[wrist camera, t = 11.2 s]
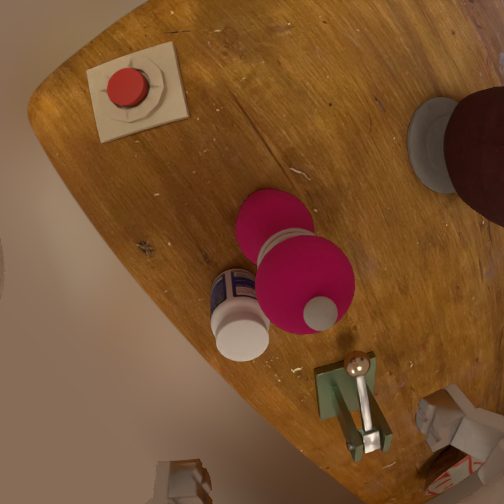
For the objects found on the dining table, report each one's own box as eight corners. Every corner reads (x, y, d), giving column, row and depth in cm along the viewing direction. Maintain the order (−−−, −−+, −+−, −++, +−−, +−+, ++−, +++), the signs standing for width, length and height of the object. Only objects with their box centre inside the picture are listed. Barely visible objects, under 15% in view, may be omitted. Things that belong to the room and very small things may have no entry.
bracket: (313, 368, 42) (340, 438, 30) (372, 351, 42) (411, 413, 30) (318, 414, 46) (339, 477, 34) (370, 398, 46) (399, 456, 34)
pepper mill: (312, 228, 35) (404, 333, 16) (255, 261, 35) (292, 395, 17) (281, 171, 32) (363, 224, 13) (220, 206, 33) (221, 305, 14)
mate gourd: (483, 107, 31) (602, 120, 12) (473, 204, 35) (585, 257, 17) (393, 74, 29) (530, 49, 10) (383, 191, 34) (514, 254, 15)
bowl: (409, 486, 67) (417, 505, 60) (420, 452, 58) (432, 475, 50) (474, 451, 67) (484, 467, 59) (495, 409, 58) (509, 427, 50)
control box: (107, 142, 29) (93, 143, 25) (93, 73, 26) (78, 67, 22) (190, 117, 29) (186, 115, 25) (175, 46, 26) (169, 35, 22)
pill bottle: (223, 318, 37) (226, 374, 28) (202, 278, 35) (197, 329, 26) (268, 300, 37) (284, 352, 28) (249, 258, 35) (260, 304, 26)
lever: (338, 353, 37) (345, 357, 34) (362, 345, 37) (371, 349, 34) (354, 446, 35) (361, 456, 32) (377, 438, 35) (386, 447, 32)
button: (116, 111, 25) (110, 110, 23) (110, 78, 24) (103, 75, 22) (151, 100, 25) (147, 97, 23) (144, 66, 24) (139, 62, 22)
